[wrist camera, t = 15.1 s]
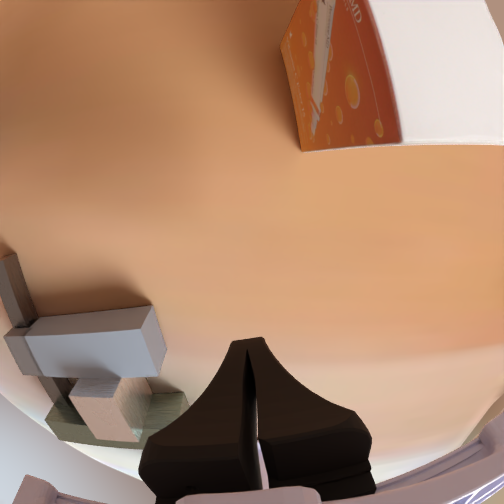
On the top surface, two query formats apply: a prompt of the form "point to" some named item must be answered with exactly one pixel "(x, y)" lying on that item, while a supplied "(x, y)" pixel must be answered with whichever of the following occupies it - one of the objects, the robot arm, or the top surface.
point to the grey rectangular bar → (91, 345)
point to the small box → (395, 73)
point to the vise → (58, 388)
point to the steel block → (113, 406)
